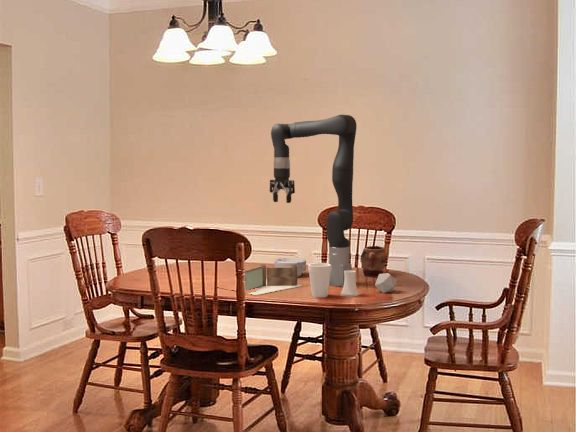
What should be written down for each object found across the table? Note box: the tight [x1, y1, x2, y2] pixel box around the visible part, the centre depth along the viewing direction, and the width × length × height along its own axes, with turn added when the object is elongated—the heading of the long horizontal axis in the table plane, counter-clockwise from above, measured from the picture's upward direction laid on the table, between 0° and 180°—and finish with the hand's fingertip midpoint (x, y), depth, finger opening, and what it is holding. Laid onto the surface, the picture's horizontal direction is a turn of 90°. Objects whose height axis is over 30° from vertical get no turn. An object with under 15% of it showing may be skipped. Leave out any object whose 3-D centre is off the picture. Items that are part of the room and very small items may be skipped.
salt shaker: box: [340, 270, 360, 298], centre depth 287 cm, size 8×8×10 cm
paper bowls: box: [274, 257, 307, 278], centre depth 333 cm, size 15×15×8 cm
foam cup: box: [307, 262, 331, 298], centre depth 286 cm, size 10×9×13 cm
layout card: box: [247, 278, 304, 296], centre depth 306 cm, size 26×28×1 cm
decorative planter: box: [360, 245, 387, 278], centre depth 330 cm, size 20×12×14 cm, turn 168°
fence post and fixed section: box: [260, 264, 298, 286], centre depth 307 cm, size 16×2×9 cm, turn 90°
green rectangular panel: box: [243, 265, 263, 291], centre depth 300 cm, size 13×2×9 cm, turn 151°
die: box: [374, 272, 398, 294], centre depth 293 cm, size 8×9×10 cm
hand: (282, 202), depth 321 cm, fingers open, 8 cm apart
